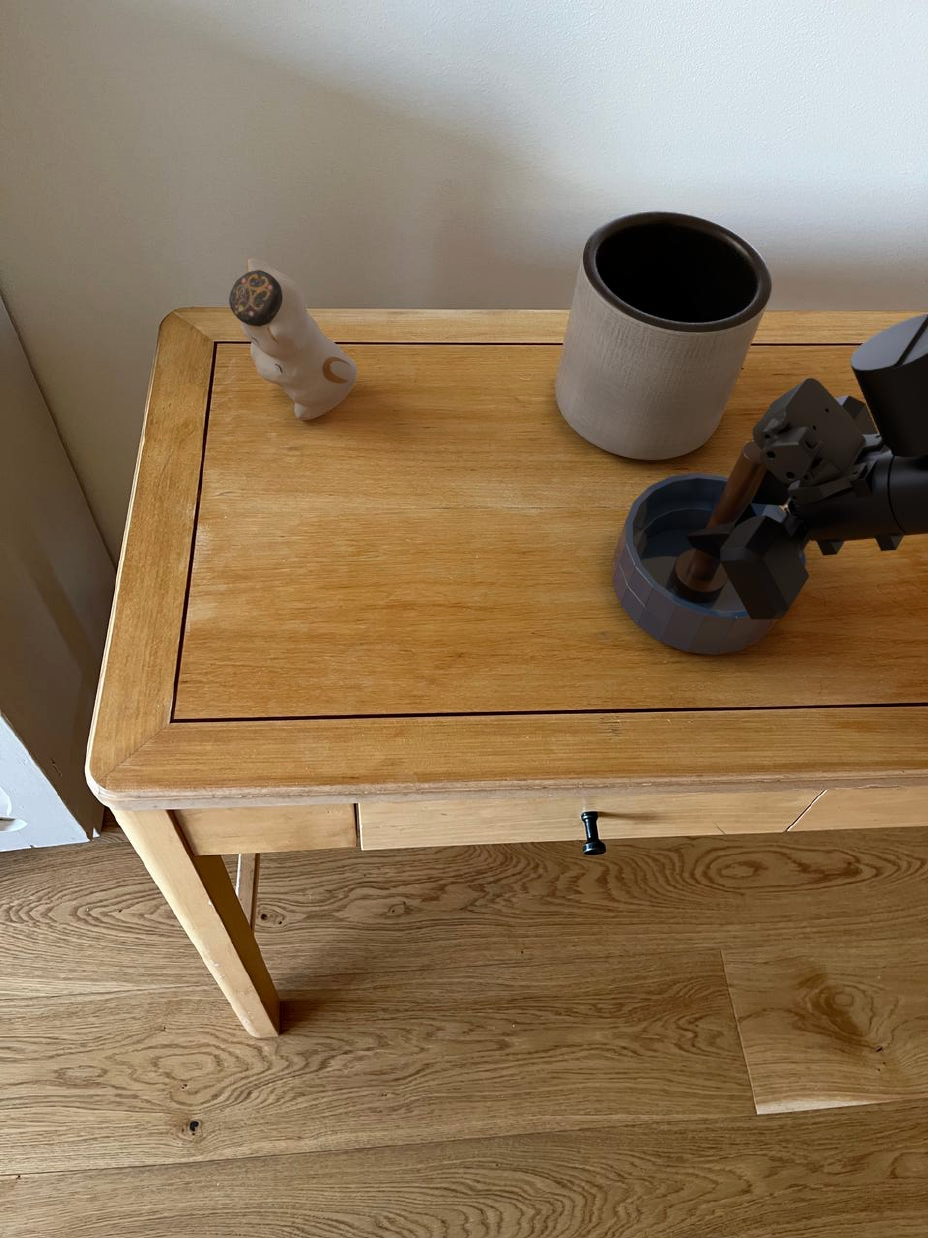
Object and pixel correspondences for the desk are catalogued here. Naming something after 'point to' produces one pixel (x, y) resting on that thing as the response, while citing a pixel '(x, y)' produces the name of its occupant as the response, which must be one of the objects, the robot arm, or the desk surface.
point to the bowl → (652, 554)
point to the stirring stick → (694, 568)
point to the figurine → (290, 341)
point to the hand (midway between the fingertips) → (707, 516)
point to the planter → (658, 332)
